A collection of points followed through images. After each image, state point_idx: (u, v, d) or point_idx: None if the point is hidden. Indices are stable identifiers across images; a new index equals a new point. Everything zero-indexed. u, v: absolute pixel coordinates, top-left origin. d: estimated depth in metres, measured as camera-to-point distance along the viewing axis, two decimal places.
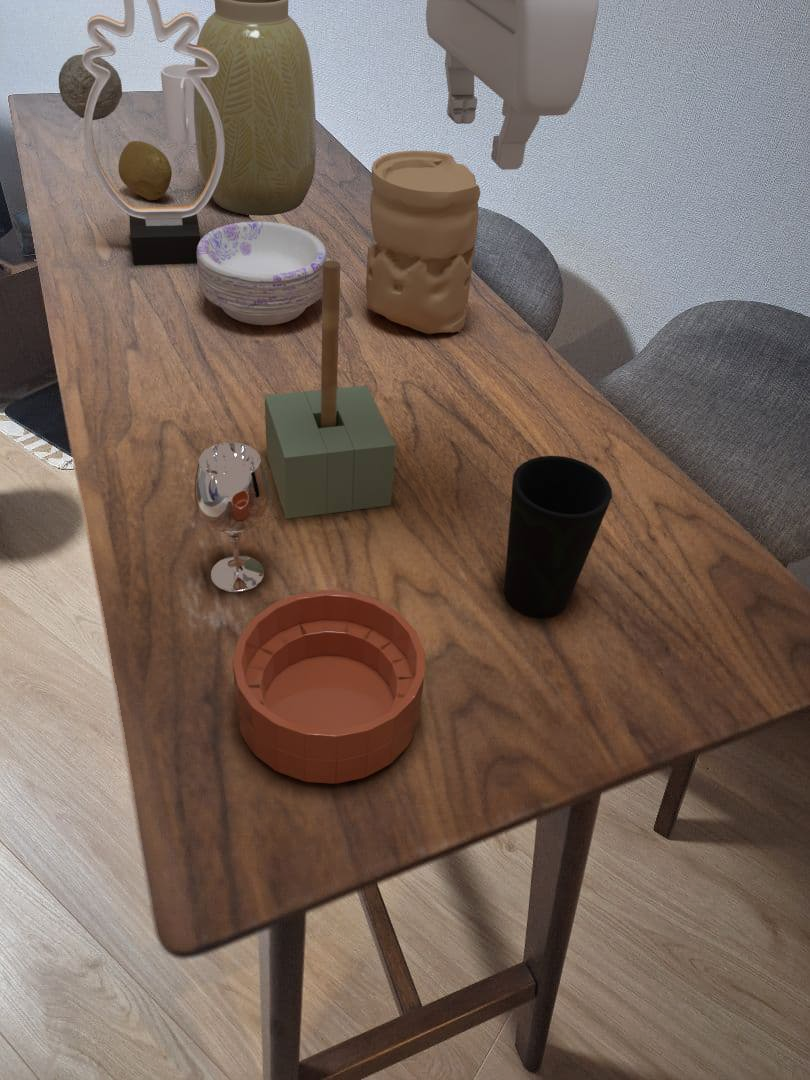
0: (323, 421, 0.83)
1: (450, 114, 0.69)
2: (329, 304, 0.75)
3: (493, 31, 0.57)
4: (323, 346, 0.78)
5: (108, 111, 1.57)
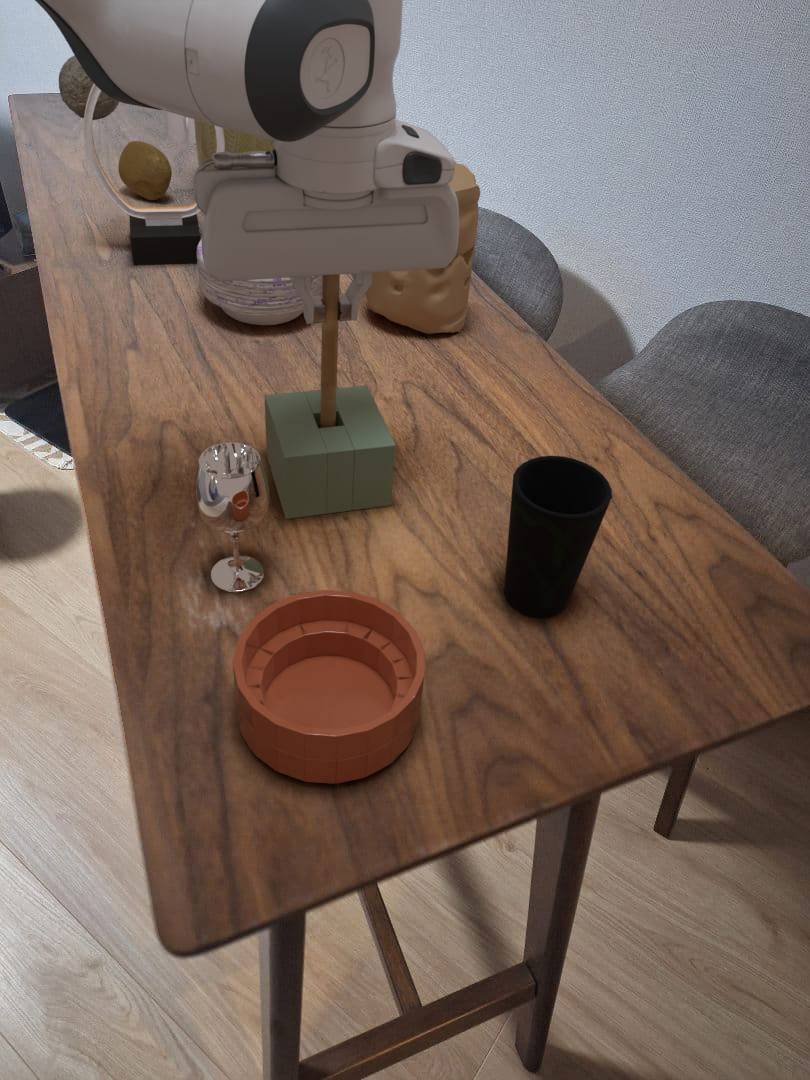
0: (322, 421, 0.83)
1: (316, 320, 0.75)
2: (329, 304, 0.75)
3: (385, 232, 0.71)
4: (323, 346, 0.78)
5: (108, 111, 1.57)
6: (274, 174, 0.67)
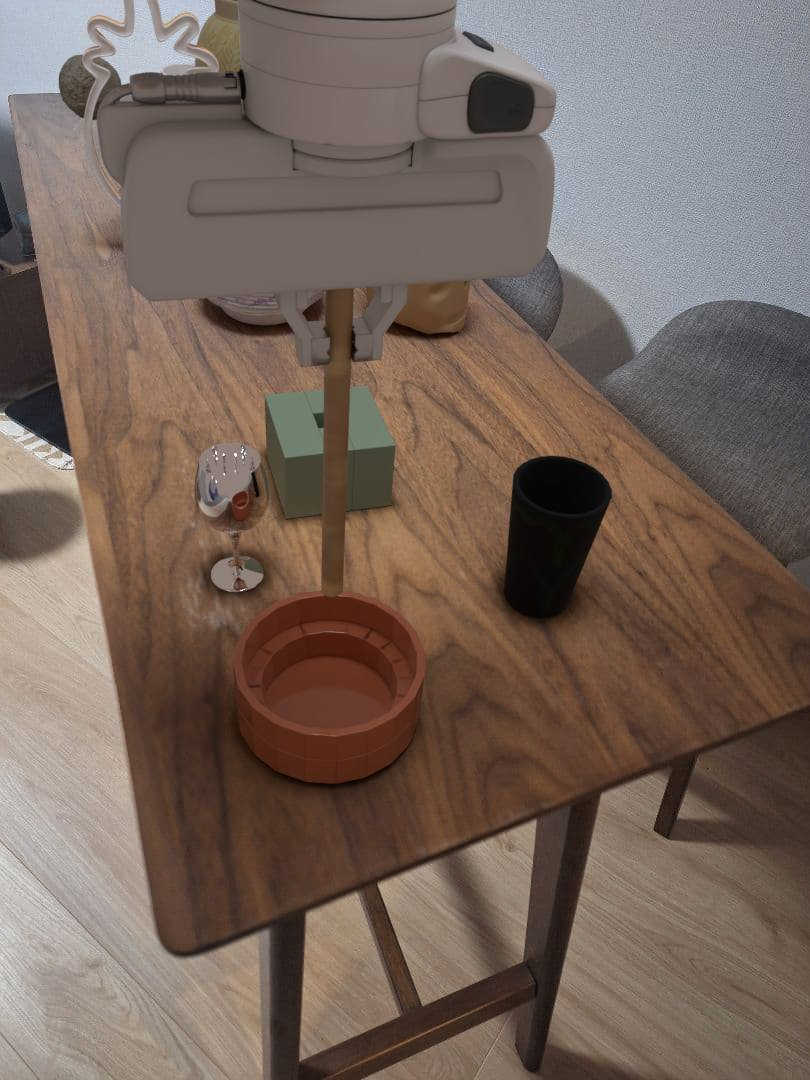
0: (325, 511, 0.54)
1: (315, 361, 0.46)
2: (336, 335, 0.46)
3: (432, 218, 0.42)
4: (326, 400, 0.49)
5: None
6: (241, 114, 0.38)
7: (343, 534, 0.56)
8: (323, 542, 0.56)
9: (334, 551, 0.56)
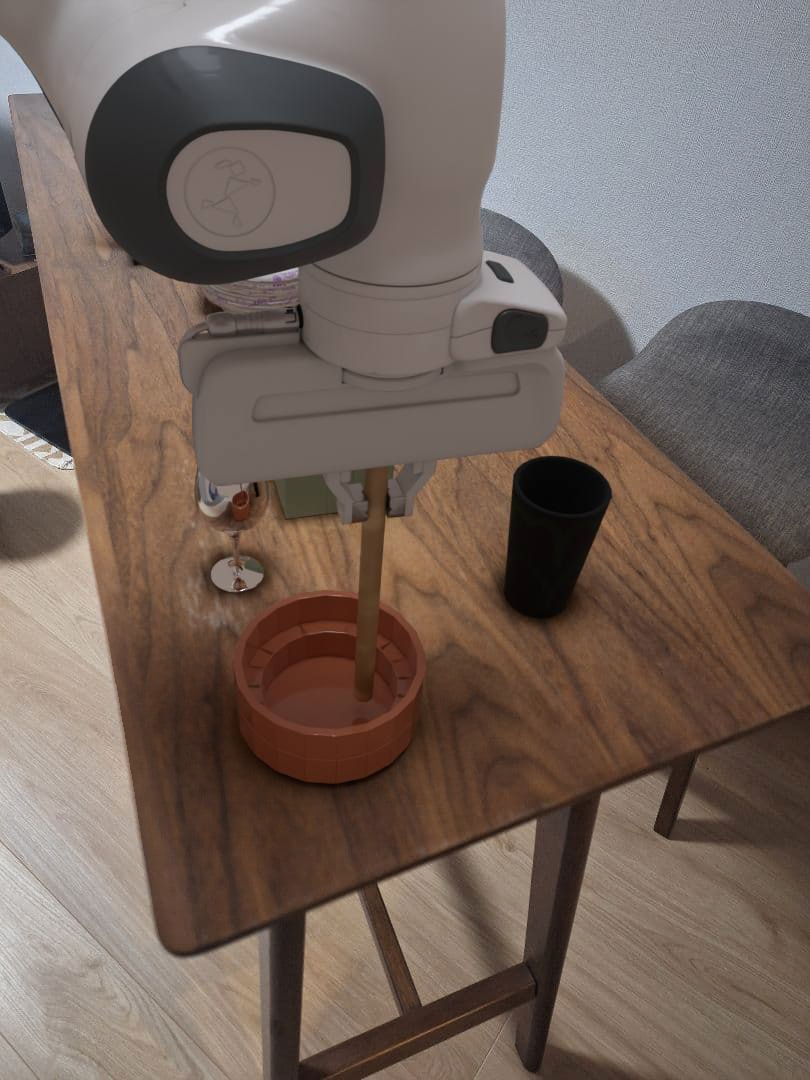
0: (360, 634, 0.61)
1: (355, 520, 0.53)
2: (373, 499, 0.53)
3: (459, 410, 0.49)
4: (363, 548, 0.56)
5: None
6: (299, 340, 0.45)
7: (375, 651, 0.62)
8: (356, 658, 0.63)
9: (366, 666, 0.63)
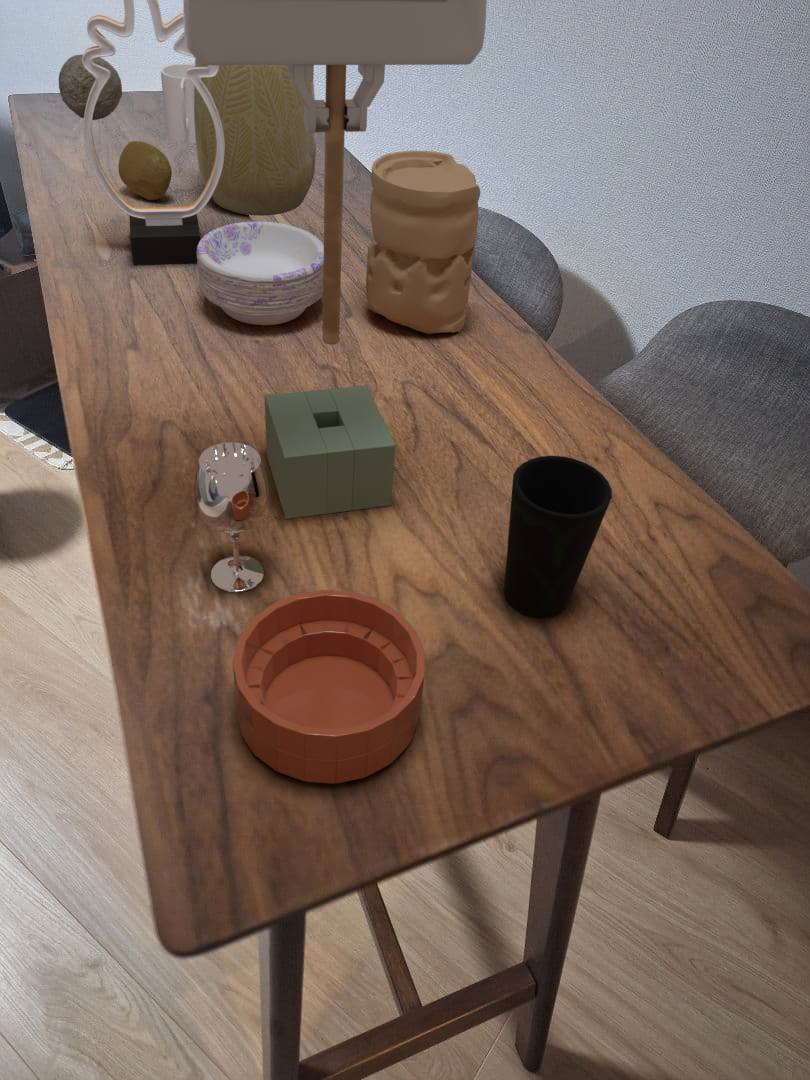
0: (326, 264, 0.72)
1: (318, 127, 0.64)
2: (333, 107, 0.64)
3: (400, 10, 0.60)
4: (326, 165, 0.67)
5: (108, 111, 1.57)
6: None
7: (339, 286, 0.73)
8: (324, 294, 0.74)
9: (332, 301, 0.74)
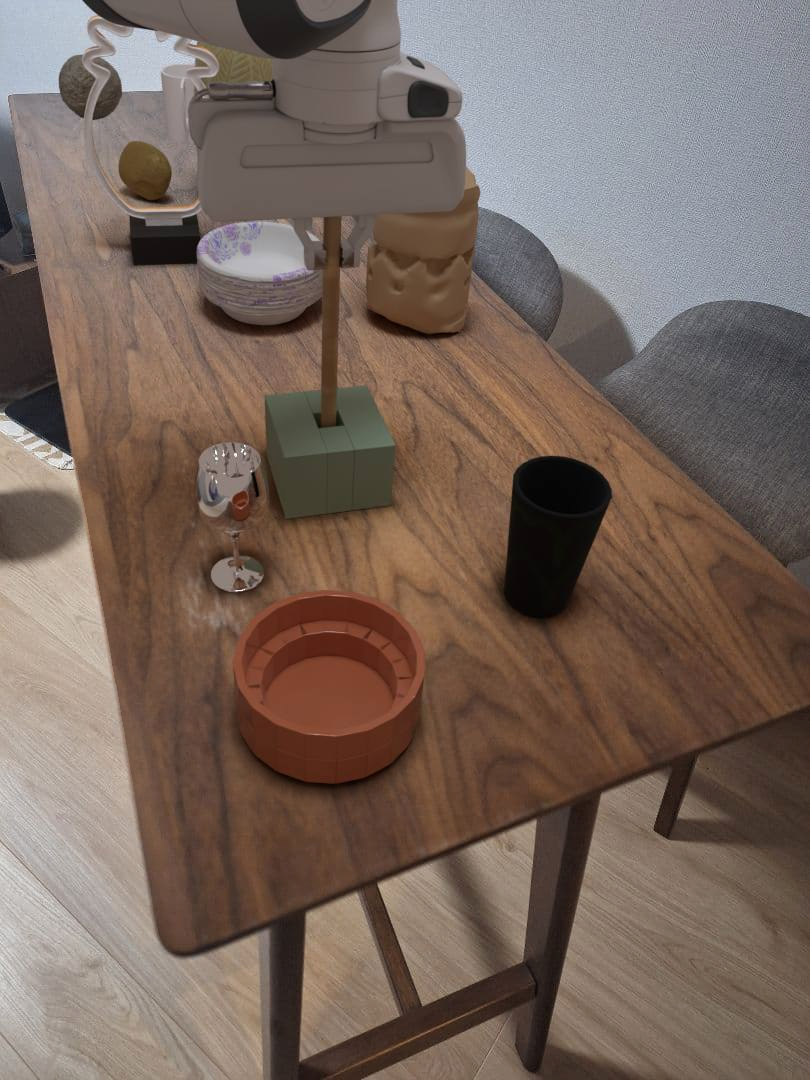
0: (323, 377, 0.80)
1: (317, 266, 0.72)
2: (330, 249, 0.72)
3: (389, 171, 0.68)
4: (324, 295, 0.75)
5: (108, 111, 1.57)
6: (273, 106, 0.64)
7: (335, 395, 0.81)
8: (322, 401, 0.81)
9: (329, 407, 0.82)
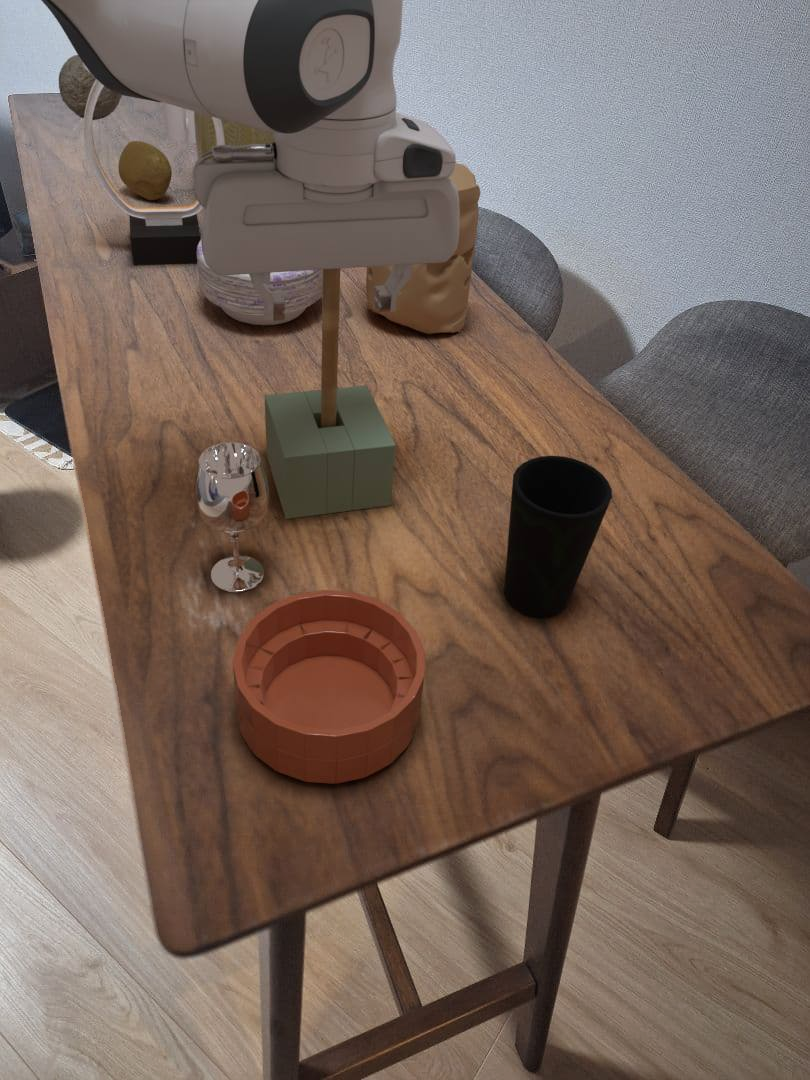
0: (323, 422, 0.83)
1: (276, 317, 0.74)
2: (329, 304, 0.75)
3: (386, 226, 0.71)
4: (323, 346, 0.78)
5: (108, 111, 1.57)
6: (274, 167, 0.67)
7: None
8: None
9: None
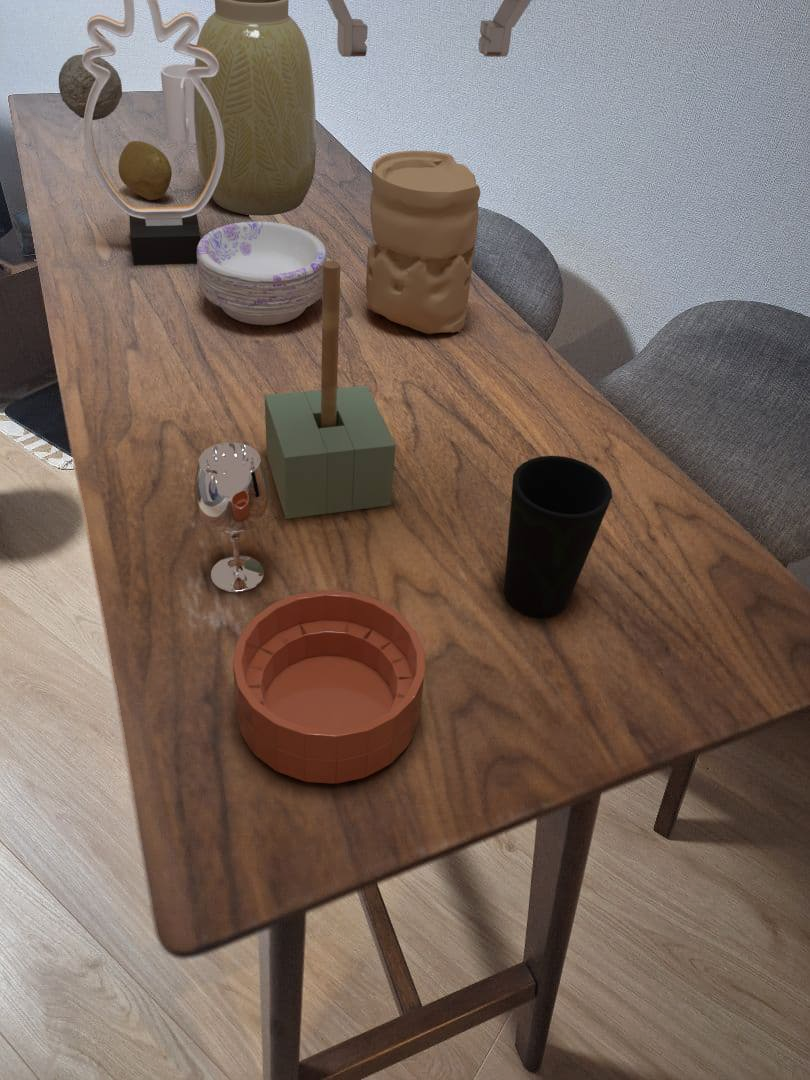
0: (323, 422, 0.83)
1: (355, 50, 0.56)
2: (329, 304, 0.75)
3: None
4: (323, 346, 0.78)
5: (108, 111, 1.57)
6: None
7: None
8: None
9: None
